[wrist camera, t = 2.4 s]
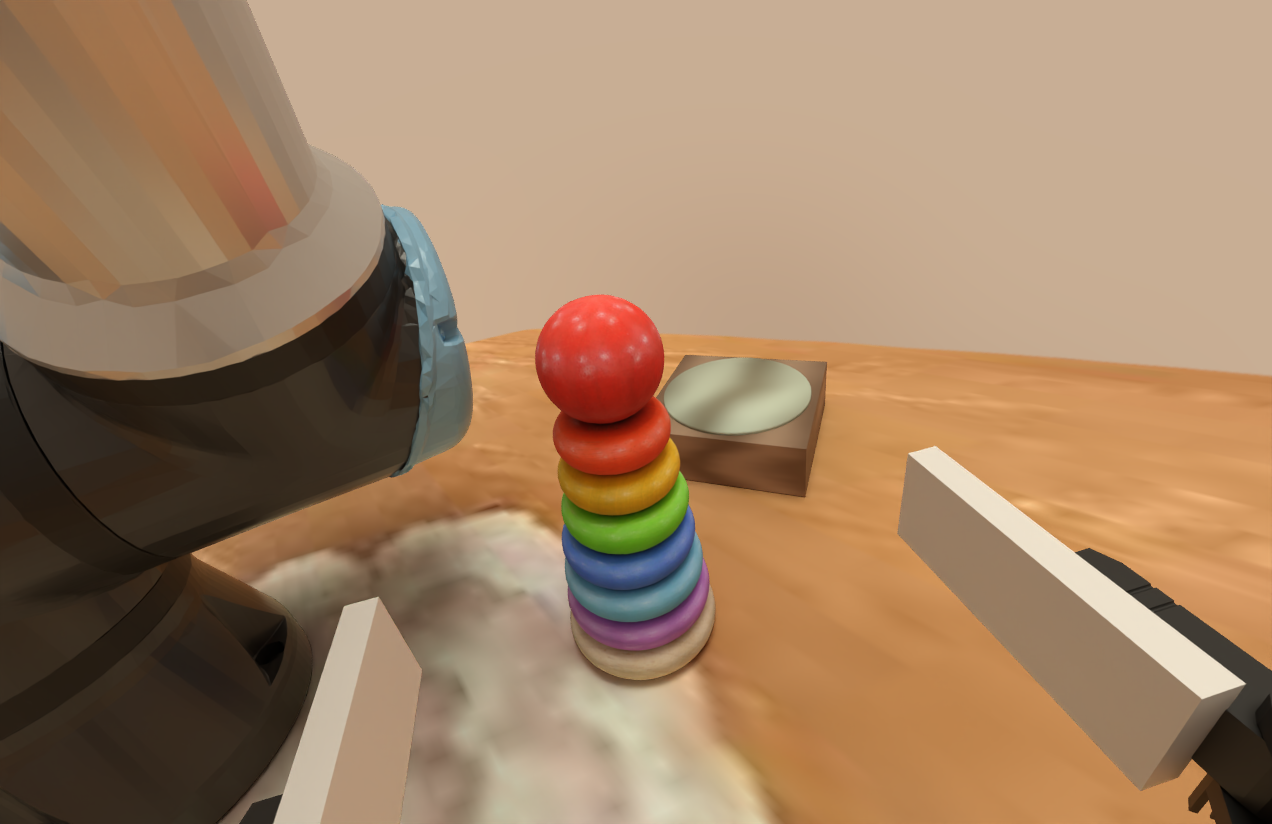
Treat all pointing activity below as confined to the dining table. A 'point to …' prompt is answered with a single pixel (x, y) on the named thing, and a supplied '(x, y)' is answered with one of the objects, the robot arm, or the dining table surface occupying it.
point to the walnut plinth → (746, 420)
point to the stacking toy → (622, 493)
